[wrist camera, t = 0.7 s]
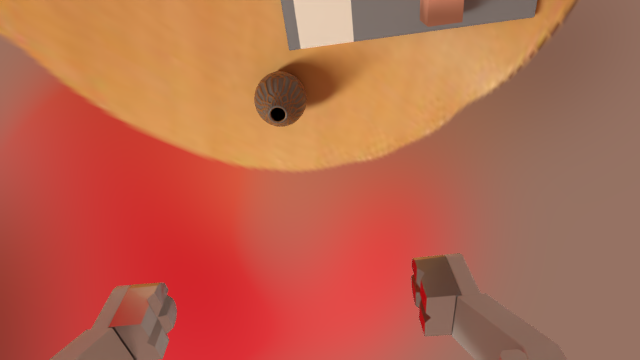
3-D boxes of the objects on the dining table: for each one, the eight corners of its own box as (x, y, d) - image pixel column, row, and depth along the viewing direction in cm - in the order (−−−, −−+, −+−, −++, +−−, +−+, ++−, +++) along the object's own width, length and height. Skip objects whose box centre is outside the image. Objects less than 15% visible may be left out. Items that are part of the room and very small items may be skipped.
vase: (315, 79, 52) (315, 103, 45) (293, 119, 56) (291, 148, 48) (269, 56, 50) (262, 77, 43) (250, 99, 54) (241, 125, 46)
